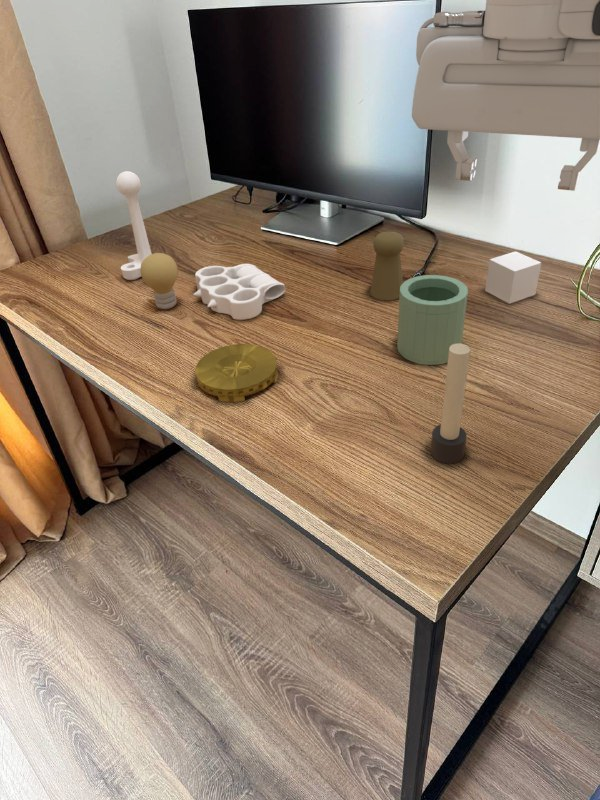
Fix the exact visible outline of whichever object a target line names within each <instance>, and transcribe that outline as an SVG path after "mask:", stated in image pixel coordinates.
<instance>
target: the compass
mask: <svg viewBox="0 0 600 800" xmlns="http://www.w3.org/2000/svg"><path fill="white" fill-rule="evenodd" d="M194 369H195V370H194V373H195V377H196V382H197V387H198V388H200V389H201V390H202V391H204V392H205V393H206V394H209V395H211V396H215V397H218V401H219V402H225V403H236V402H245V401H246V399H245V397H246V396H250V395H251V396H252V395H254V394H256V393H259V392H261V391H263V390H265V389H266V388H268V387H269V386H270V385H271V384H272V383H274V384H276V383H277V381H278V377H279V373H278V362H277V357H276V356H275V354H274V353H273V352H272V351H271V350H269V349H268V348H266V347H263V346H261V345H256V344H252V343H251V344H250V343H237V344H228V345H225V346H220V347H218V348H215V349H213V350H211V351H209V352H207V353H206V354H205V355H203V356H202V357H201V358H200V359H199V360H198V361H197V363H196V366H195V368H194Z"/></svg>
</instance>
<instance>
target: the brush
mask: <svg viewBox="0 0 600 800" xmlns="http://www.w3.org/2000/svg"><path fill="white" fill-rule="evenodd" d="M470 355H471V348H470V346H469V345H467V344H465V343H462V344H453V345H451V346H450V347H449V355H448V362H447V363H446V364H447V366H446V376H445V383H444V392H443V401H442V411H441V420H440V421H441V422H440V424H438V425H436V426H435V427H434V428H433V429H432V433H431V441H430V455H431V456H432V458H433V459H434V460H435V461H437V462H439V463H440V464H441V463H442V464H447V465H452V464H456V463H459V462H461V461H462V460H463V459H464V457H465V450H466V444H467V438H468V436H467V432H466V431H465V429H464V428H462V427H461V423H462V415H463V410H464V409H463V408H464V400H465V392H466V391H465V390H466V385H467V379H468V378H467V377H468V370H469V363H470Z"/></svg>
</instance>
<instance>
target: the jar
mask: <svg viewBox="0 0 600 800" xmlns="http://www.w3.org/2000/svg"><path fill="white" fill-rule="evenodd" d="M468 295H469V289H468V287H467V286H466V284H465V283H464V282H462V281H461V280H459V279H456V278H453V277H450V276H447V275H441V274H426V275H425V274H424V275H418V276H414V277H410V278H408V279H407V280H405V281H403V284H402V285H401V286H400V297H399V298H398V299H399V300H398V301H399V302H398V320H397V321H398V323H397V324H398V325H397V339H396V340H397V342H396V343H397V344H396V349H397V351H398V353H399V354H400V356H401V357H403V358H404V359H405V360H407V361H410V362H412V363H415V364H418V365H423V366H424V365H425V366H437V365H438V366H439V365H443V364H448V355H449V347H450V346H451V345H453V344H463V337H464V327H465V320H466V311H467V303H468Z"/></svg>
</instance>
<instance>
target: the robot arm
mask: <svg viewBox="0 0 600 800" xmlns="http://www.w3.org/2000/svg"><path fill="white" fill-rule="evenodd" d="M432 24H433V26H430V25H432ZM415 48H416V49H415V50H416V51H415V58H416V62H417V65H418V70H417V74H416V78H415V79H416V80H415V84H414V90H413V98H412V105H411V106H412V108H411V118H412V121H413V122H414V123H415V125H416V127H417V128H418V129H420V130H433V131H435V130H436V131H447V139H446V143H447V146H448V148H449V150H450V152H451V154H452V157H453V159H454V161H455V163H456V169H455V180H456V181H466V182H467V181H469V182H471V181H472V180H473V179H474V178H475V175H476V172H477V170H476V167H477V162H478V158H476V157H470V156H469V154H468V151H467V149H466V146H465V143H464V141H465V140H466V139H467V138H468V137H469V133H485V134H501V135H504V134H505V135H517V136H535V137H536V136H537V137H553V138H554V137H555V138H571V139H572V138H573V139H581V141H580V146H579V151H580V152H581V153H583V154H582V155H580V157H579V159H578V160H577V161H576V162H575V164H574V165H572V164H571V165H569V164H565V165H563V167H562V169H561V170H560V175H559V179H560V180H559V181H558V184H557V190H564V191H572V192H575V191H576V189H577V187H578V184H579V181H580V175H581V172H582V170H583V169H584V168H585V167H586V166H587V165H588V164H589V162H590V161H591V160H592V159H593V158H594V156H595V155H596V154H597V152H598V151H599V149H600V0H485V9H484V10H467V11H461V12H450V11H440V12H437V13H435V14H434V15H433V17H430V18H429V19H427V20H426V21H425V22H424V23H423V24H422V25H421V26H420V28H419V31H418V32H417V36H416V47H415Z"/></svg>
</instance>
